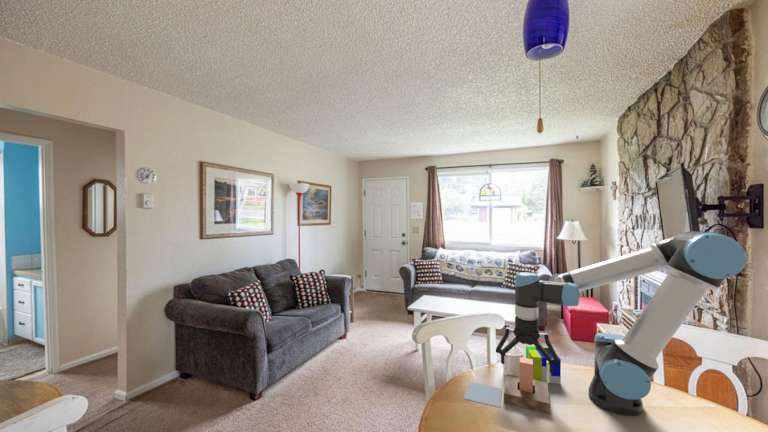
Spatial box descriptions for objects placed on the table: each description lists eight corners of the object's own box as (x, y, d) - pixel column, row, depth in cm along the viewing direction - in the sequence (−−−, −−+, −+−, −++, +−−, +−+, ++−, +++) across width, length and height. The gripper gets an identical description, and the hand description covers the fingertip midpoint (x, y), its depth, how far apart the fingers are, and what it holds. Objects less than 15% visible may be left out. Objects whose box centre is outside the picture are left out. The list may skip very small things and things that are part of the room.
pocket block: (547, 393, 113) (547, 382, 113) (549, 415, 100) (550, 403, 100) (505, 384, 118) (506, 373, 118) (503, 404, 106) (503, 393, 106)
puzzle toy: (560, 385, 118) (560, 359, 118) (532, 382, 120) (532, 356, 120) (551, 372, 128) (551, 348, 128) (525, 369, 130) (526, 346, 130)
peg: (532, 395, 110) (532, 359, 110) (532, 402, 106) (533, 364, 106) (519, 392, 112) (519, 357, 112) (519, 399, 108) (519, 362, 108)
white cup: (502, 379, 122) (502, 354, 122) (501, 369, 130) (501, 345, 130) (524, 382, 120) (524, 356, 120) (521, 372, 127) (521, 348, 127)
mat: (502, 390, 114) (502, 388, 114) (499, 409, 103) (499, 407, 103) (469, 383, 119) (469, 381, 119) (463, 399, 108) (463, 398, 108)
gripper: (566, 318, 107) (565, 379, 107) (490, 309, 118) (490, 365, 118) (568, 325, 100) (568, 390, 101) (488, 315, 111) (488, 374, 111)
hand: (526, 377), depth 109 cm, fingers open, 13 cm apart
